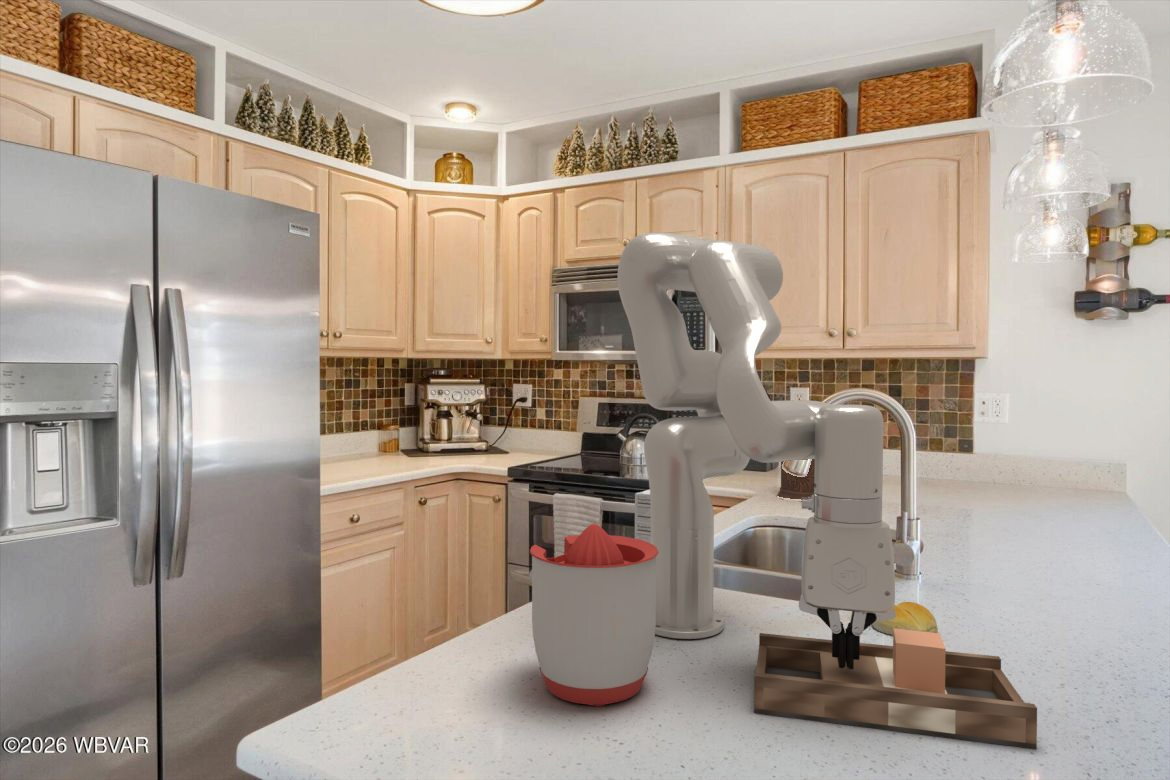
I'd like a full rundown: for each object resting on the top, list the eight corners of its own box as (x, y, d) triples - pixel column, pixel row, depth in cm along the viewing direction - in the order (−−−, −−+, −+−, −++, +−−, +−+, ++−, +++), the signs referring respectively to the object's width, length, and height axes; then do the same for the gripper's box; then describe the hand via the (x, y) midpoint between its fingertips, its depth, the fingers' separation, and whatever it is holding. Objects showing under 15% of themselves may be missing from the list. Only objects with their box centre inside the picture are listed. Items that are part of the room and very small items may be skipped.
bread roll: (861, 622, 111) (861, 596, 111) (914, 620, 112) (915, 594, 112) (890, 641, 103) (890, 614, 103) (948, 639, 104) (948, 611, 104)
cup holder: (797, 491, 238) (798, 415, 237) (866, 500, 219) (867, 419, 219) (764, 497, 226) (764, 418, 225) (833, 507, 207) (834, 421, 207)
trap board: (754, 712, 80) (754, 675, 80) (759, 664, 94) (759, 632, 94) (1036, 749, 73) (1037, 708, 73) (998, 690, 86) (998, 656, 86)
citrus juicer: (575, 648, 99) (575, 505, 99) (682, 682, 88) (683, 521, 88) (492, 685, 87) (492, 523, 87) (605, 730, 76) (605, 544, 76)
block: (895, 687, 80) (895, 642, 80) (892, 670, 85) (893, 628, 85) (945, 693, 79) (945, 648, 78) (939, 676, 83) (939, 633, 83)
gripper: (781, 511, 82) (779, 669, 83) (922, 519, 78) (919, 685, 79) (781, 500, 90) (780, 645, 90) (911, 507, 86) (908, 659, 86)
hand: (845, 663), depth 84 cm, fingers closed
